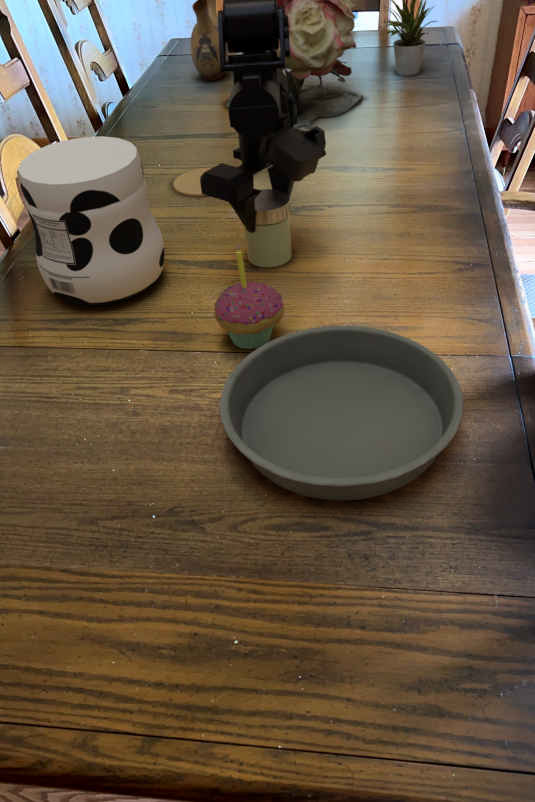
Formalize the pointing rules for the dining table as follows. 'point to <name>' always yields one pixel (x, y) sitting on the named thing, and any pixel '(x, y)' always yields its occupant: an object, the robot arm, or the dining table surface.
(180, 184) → the coaster
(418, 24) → the house plant
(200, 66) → the ceramic vessel
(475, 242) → the dining table surface
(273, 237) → the jar
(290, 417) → the cake pan
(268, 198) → the lid
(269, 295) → the cupcake
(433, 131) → the dining table surface
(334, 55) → the rose bouquet
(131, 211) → the milk container
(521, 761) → the dining table surface
